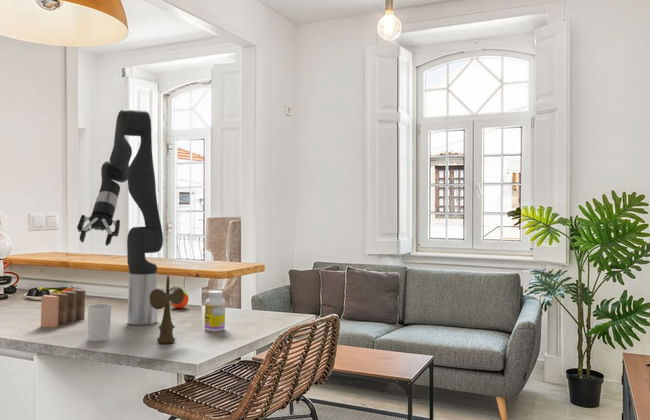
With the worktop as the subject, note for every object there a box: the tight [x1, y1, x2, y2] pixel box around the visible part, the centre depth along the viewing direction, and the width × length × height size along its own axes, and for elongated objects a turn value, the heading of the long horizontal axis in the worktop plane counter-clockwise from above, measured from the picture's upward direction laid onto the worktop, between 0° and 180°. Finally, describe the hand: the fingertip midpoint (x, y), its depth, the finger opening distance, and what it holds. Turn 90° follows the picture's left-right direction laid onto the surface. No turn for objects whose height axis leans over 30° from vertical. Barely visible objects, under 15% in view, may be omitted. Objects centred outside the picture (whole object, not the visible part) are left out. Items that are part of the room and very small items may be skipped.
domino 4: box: [68, 288, 86, 320], centre depth 192 cm, size 2×5×10 cm, turn 78°
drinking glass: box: [87, 303, 112, 342], centre depth 165 cm, size 7×7×10 cm
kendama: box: [150, 275, 185, 345], centre depth 164 cm, size 6×10×20 cm, turn 157°
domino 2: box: [50, 292, 68, 326], centre depth 184 cm, size 2×5×10 cm, turn 78°
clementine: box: [170, 290, 190, 309], centre depth 217 cm, size 8×7×7 cm
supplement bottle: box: [204, 290, 226, 333], centre depth 182 cm, size 7×7×13 cm
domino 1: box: [40, 294, 59, 328], centre depth 179 cm, size 2×5×10 cm, turn 78°
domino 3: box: [60, 290, 77, 323], centre depth 188 cm, size 2×5×10 cm, turn 78°
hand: (94, 242), depth 199 cm, fingers open, 8 cm apart
